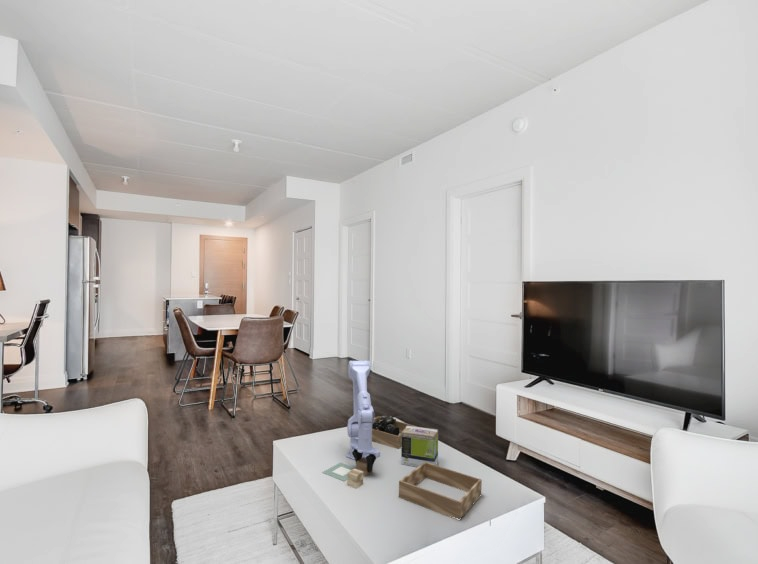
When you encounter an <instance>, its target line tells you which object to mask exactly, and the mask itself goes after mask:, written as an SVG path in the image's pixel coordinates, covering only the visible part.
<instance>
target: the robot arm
mask: <svg viewBox="0 0 758 564" xmlns="http://www.w3.org/2000/svg"><path fill="white" fill-rule="evenodd" d="M347 365H348V367H347V368H348V372H347V373H348V379H350V380H351V381H352V384H353V385H352V387H353V390H352V393H353V394H352V396H353V398H352V399H353V403H352V404H353V415H352V416H350V418H348V420H347V429H346V430H347V437H349V438H350V445H349V453H347V454H346V455H345V458H346V457H347V458H349V459H351V460H353V461H354V460H355V464H356V463H357V461H358V460H359V459H361V458H363V457H365V458H366V459H367V470H368V472H371V471H372V468H373V467H374V465H375V461H376V459H377V458H379V457H381V451H380V450H378V449H376V448H374V447H373V445H372V444H373V441H372V422H374V418H375V411H374V408H373V405H372V399H371V394H370V393H369V392H368V383H367V382H368V381H367V380H368V377H369V376H370V375H369V374H370V373H371V362H370V360H369V359H368V360H367V359H366V360H349V361H348V364H347ZM372 472H373V471H372Z"/></svg>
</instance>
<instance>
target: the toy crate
mask: <svg viewBox="0 0 758 564" xmlns="http://www.w3.org/2000/svg"><path fill="white" fill-rule="evenodd" d="M424 479H428V480H432V481H434V482H437V483H440V484H443V485H446V486H449V487H452V488H455V489H458V488H459V489H458V490H461V489H462V490H461V491H464V490H465V491H464V492H466V493H465V494H464V495H463V496H462V497H461V498H460V499H459V500H456V499H454V498H450V497H448V496H445V495H443V494H440V493H436V492H434V491H431V490H428V489H426V488H423V487H421V486H417V485H418V484H419V483H420V482H422V481H423V480H424ZM482 481H483V480H482V479H481V478H477V477H474V476H471V475H468V474H465V473H462V472H458V471H455V470H453V469H449V468H445V467H443V466H439V465H437V464H436V465H433V464H430V463H427V462H424V463H423V464H421V465H420V466H419V467H415V469H413V470H412V471H410V472H409V473H408V474H407V475H405V476H404V477H403V478H401V479H400V480H399V481H398V498H400V499H403V500H405V501H408V502H410V503H413V504H416V505H418V506H420V507H424V508H426V509H429V510H431V511H434V512H437V513H439V514H441V513H442V515H444V516H446V515H448V516H447V517H449V516H451V517H450V518H452V517H455V518H458V519H460V518H461V517H462V516H463V515H464V514H465V513H466V511H467V510H468V509H469V508H470V507H471V506H472V505H473V506H474V504H475V503H476V502H477V501H478V500H479V499H478V498H480V497H481V496H482V485H483V483H482ZM467 491H468V492H467ZM480 495H481V496H480ZM477 499H478V500H477ZM476 500H477V501H476ZM475 501H476V502H475ZM474 502H475V503H474ZM473 503H474V504H473ZM473 506H472V507H473ZM472 507H471V508H472ZM471 508H470V509H471ZM470 509H469V510H470ZM469 510H468V511H469ZM466 514H467V513H466ZM466 514H465V515H466ZM465 515H464V516H465ZM464 516H463V517H464Z"/></svg>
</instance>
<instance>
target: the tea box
mask: <svg viewBox="0 0 758 564" xmlns="http://www.w3.org/2000/svg"><path fill="white" fill-rule="evenodd" d="M415 426H416V425H414V426H407V427H406V428H405V429H404V430H403V431H402V447H400V448H401V451H400V452H401V453H400V455H401V457H400V459H401V460H400V461H401V463H400V464H401V465H404V466H410V467H415V468H417V467H419V466H420V465H421V464H423V463H424V462H427V463H430V464H433V465H437V463H438V462H439V461H438V460H439V429H438V428H429V427H423V426H422V427H421V426H417V427H415Z"/></svg>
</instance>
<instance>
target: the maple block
mask: <svg viewBox="0 0 758 564" xmlns="http://www.w3.org/2000/svg"><path fill="white" fill-rule="evenodd" d="M346 482H347V483H346V485H347V486H349V487H352V488H354V489H358V488H359V487H361V486H362V485H364V476H363V471H360V470H357V469H353V470H351V471H350V472H348V476H347V480H346Z"/></svg>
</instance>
